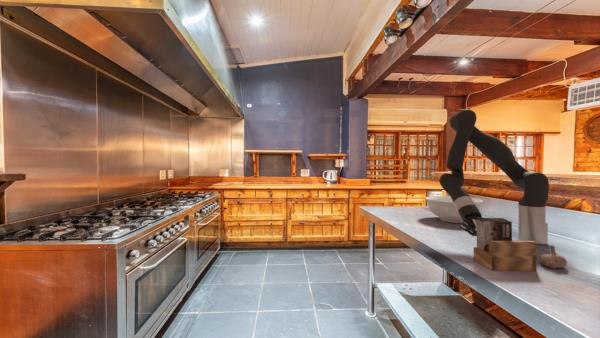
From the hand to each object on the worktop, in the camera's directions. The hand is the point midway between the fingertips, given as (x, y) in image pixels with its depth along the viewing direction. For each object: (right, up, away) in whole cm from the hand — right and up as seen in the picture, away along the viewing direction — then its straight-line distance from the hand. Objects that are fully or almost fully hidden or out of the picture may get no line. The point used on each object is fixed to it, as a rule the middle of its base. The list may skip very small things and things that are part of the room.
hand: (487, 244), depth 95 cm
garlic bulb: (+16, -5, -9) cm, 19 cm away
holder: (0, -5, -7) cm, 9 cm away
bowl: (+27, -4, +64) cm, 69 cm away
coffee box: (-1, -5, -4) cm, 7 cm away
